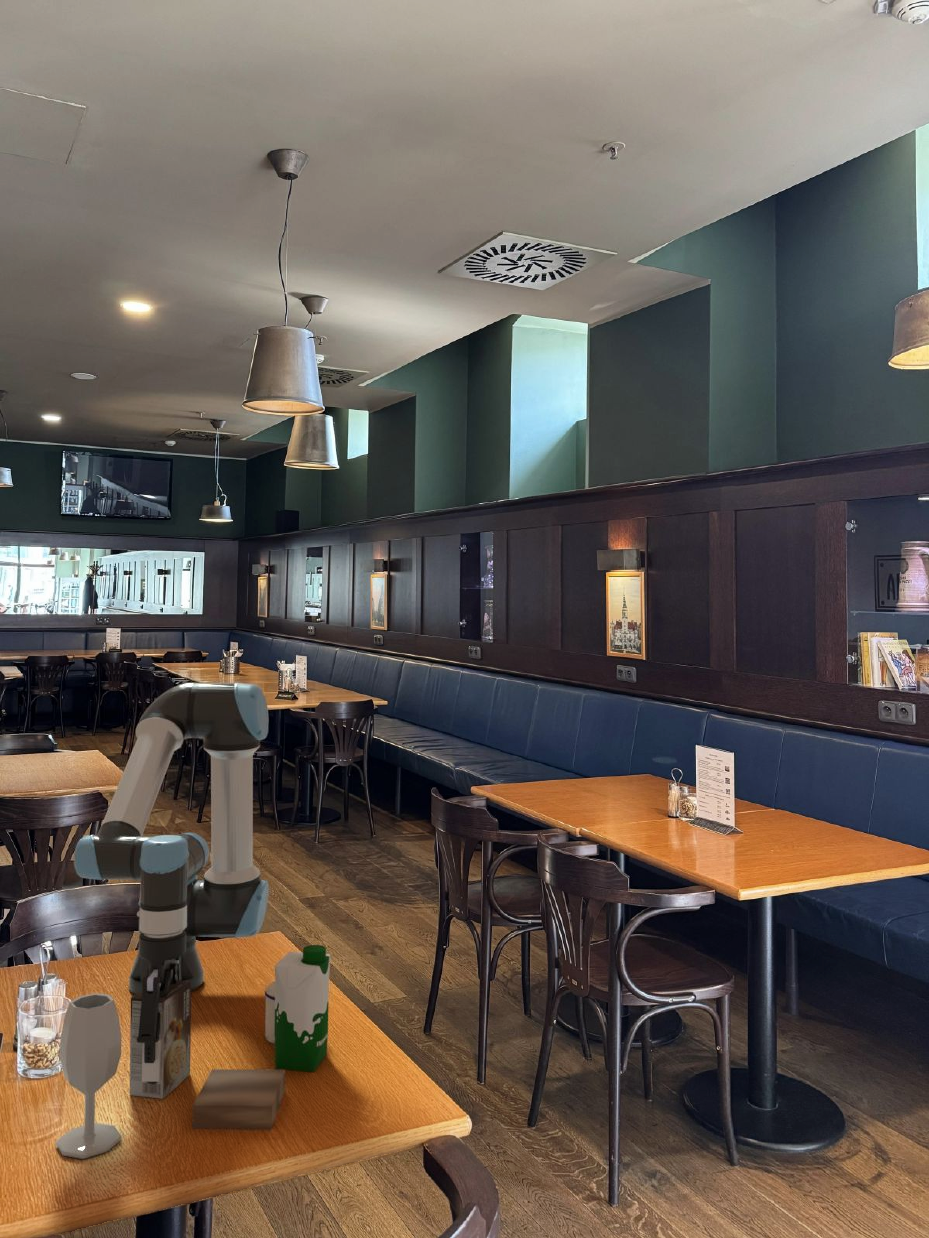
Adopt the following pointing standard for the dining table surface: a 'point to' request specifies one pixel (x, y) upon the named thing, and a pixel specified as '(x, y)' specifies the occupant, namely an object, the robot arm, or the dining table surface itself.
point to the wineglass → (90, 1068)
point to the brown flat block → (239, 1100)
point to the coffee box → (164, 1042)
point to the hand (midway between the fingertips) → (160, 1065)
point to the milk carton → (302, 1009)
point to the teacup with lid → (270, 1012)
